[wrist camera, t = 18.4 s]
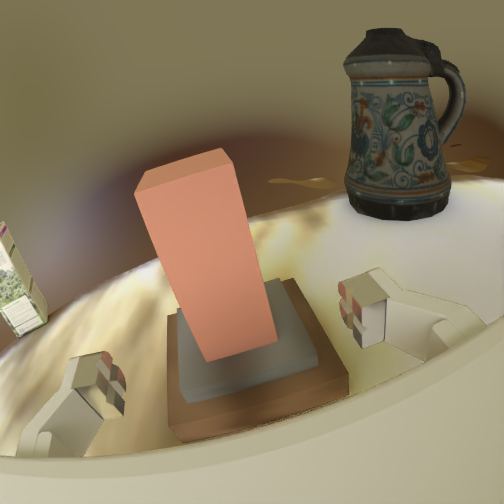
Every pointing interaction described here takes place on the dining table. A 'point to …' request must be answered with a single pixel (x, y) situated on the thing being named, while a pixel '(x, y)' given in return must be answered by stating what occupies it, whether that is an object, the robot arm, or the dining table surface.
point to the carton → (208, 252)
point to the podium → (252, 372)
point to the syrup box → (18, 289)
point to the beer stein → (399, 126)
